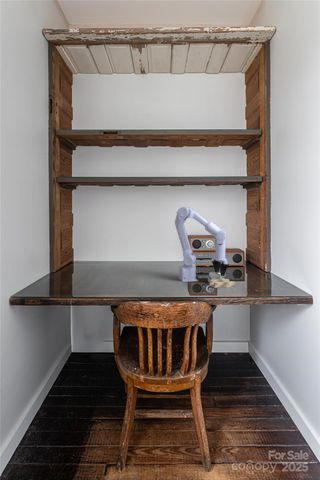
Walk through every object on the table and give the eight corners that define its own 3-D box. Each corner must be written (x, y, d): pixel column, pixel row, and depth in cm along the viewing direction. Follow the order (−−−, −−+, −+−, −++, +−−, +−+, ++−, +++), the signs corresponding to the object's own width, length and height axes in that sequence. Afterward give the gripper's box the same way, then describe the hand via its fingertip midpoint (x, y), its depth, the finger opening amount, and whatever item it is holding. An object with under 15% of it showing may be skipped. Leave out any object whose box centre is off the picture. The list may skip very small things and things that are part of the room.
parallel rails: (214, 287, 170) (214, 283, 170) (209, 284, 177) (209, 280, 177) (234, 286, 173) (234, 281, 173) (228, 283, 180) (228, 279, 180)
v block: (211, 283, 179) (211, 279, 179) (207, 281, 183) (208, 277, 183) (224, 282, 181) (224, 278, 181) (220, 281, 186) (220, 276, 185)
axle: (211, 280, 179) (211, 273, 179) (208, 278, 183) (208, 271, 182) (225, 279, 182) (226, 272, 181) (222, 277, 185) (222, 270, 185)
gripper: (232, 252, 175) (231, 276, 176) (221, 249, 189) (220, 271, 190) (221, 253, 173) (220, 277, 175) (210, 249, 187) (209, 271, 188)
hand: (219, 274), depth 182 cm, fingers open, 7 cm apart
